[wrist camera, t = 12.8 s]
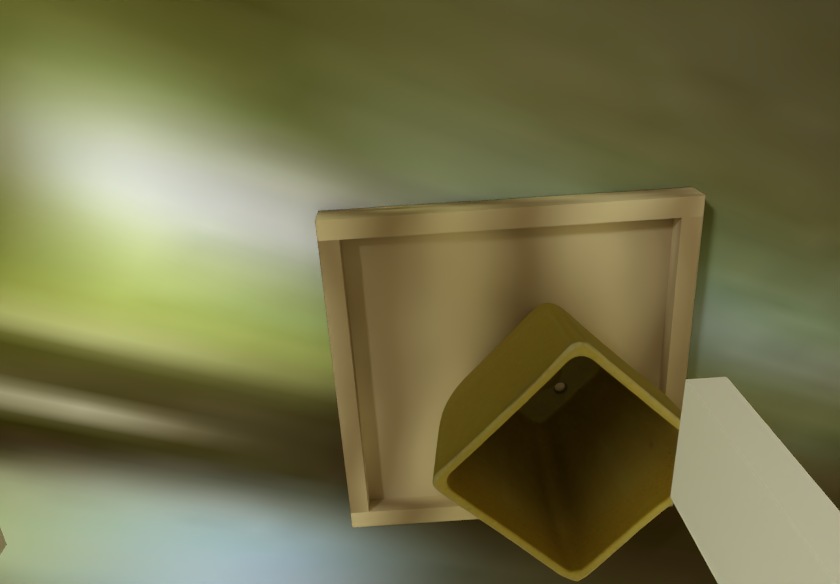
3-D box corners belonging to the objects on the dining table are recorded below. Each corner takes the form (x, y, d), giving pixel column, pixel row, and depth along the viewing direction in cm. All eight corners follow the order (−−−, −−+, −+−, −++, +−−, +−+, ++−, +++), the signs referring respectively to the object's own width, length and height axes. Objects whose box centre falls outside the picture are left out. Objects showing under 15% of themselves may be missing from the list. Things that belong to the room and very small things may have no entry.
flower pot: (538, 253, 35) (582, 338, 27) (657, 355, 37) (730, 461, 29) (420, 374, 37) (427, 485, 29) (538, 461, 40) (575, 587, 32)
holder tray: (354, 509, 41) (352, 527, 40) (318, 210, 34) (315, 220, 33) (663, 488, 42) (672, 506, 40) (693, 186, 34) (705, 195, 33)
